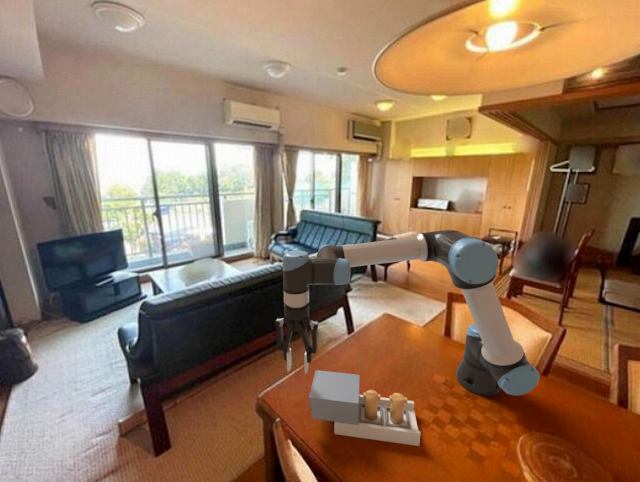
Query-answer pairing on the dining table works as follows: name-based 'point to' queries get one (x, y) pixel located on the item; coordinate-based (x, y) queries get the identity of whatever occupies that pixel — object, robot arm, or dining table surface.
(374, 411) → the tan rounded piece
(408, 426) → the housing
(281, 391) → the dining table surface
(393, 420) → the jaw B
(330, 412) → the lid
